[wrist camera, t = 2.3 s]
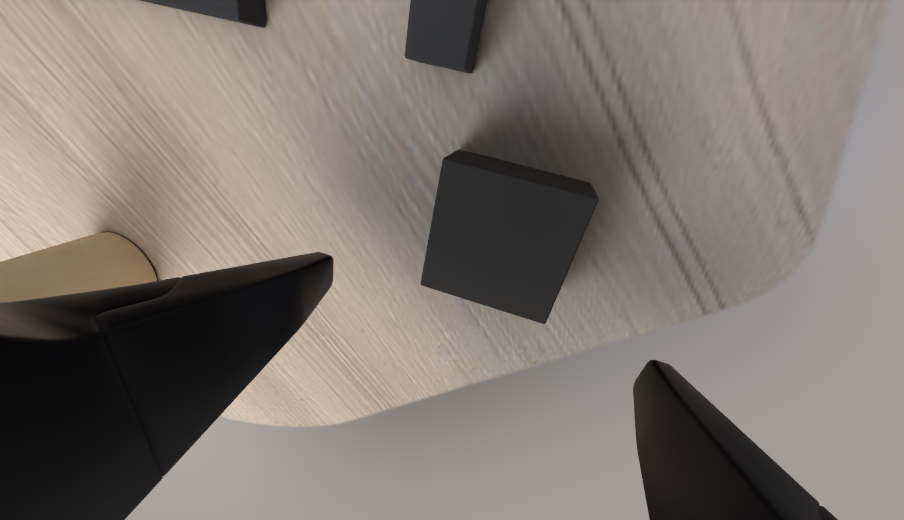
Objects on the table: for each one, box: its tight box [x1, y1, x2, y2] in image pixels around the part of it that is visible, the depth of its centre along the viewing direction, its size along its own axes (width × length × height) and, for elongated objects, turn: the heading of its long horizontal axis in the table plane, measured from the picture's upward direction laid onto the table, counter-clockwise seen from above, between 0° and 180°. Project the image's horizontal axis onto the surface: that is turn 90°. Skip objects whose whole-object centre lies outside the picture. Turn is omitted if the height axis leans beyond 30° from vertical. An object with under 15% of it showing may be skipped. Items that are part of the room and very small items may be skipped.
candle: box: [0, 232, 157, 303], centre depth 20 cm, size 6×6×10 cm
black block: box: [421, 150, 599, 324], centre depth 15 cm, size 6×6×2 cm
